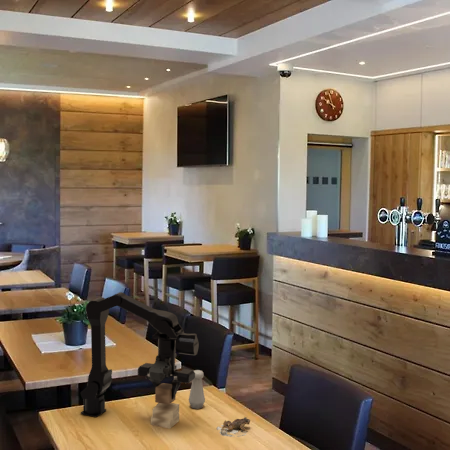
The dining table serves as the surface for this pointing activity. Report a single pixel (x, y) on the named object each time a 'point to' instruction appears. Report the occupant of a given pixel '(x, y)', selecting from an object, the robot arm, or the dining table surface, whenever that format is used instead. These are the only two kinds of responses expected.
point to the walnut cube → (164, 394)
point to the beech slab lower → (164, 422)
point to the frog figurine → (234, 427)
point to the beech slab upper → (165, 411)
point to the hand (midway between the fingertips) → (165, 397)
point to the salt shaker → (197, 391)
